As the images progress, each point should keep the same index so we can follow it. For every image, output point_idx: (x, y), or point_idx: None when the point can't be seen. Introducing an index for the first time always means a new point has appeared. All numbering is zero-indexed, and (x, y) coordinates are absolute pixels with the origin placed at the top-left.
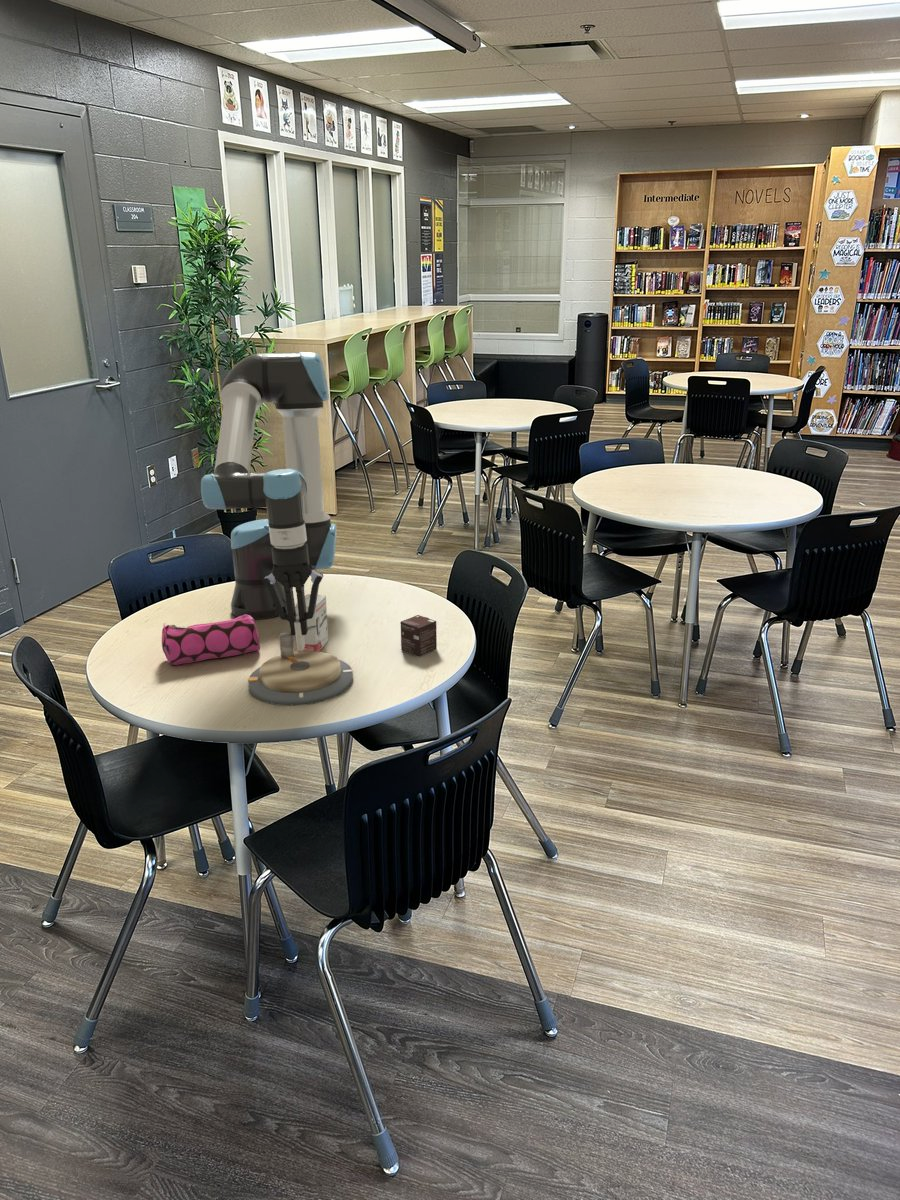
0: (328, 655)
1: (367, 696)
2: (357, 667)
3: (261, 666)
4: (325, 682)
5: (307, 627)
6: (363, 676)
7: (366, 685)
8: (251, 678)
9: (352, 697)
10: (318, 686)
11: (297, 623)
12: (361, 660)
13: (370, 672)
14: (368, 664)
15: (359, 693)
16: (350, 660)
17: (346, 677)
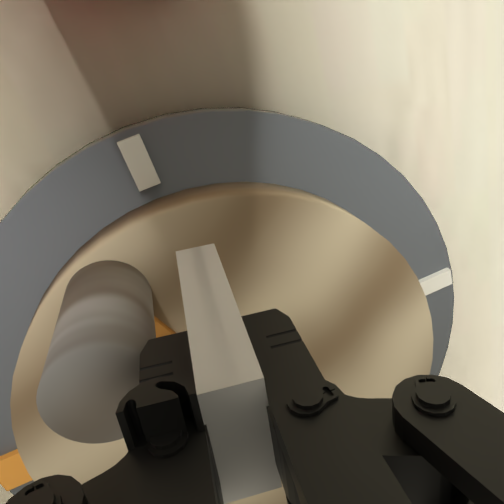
0: (355, 237)
1: (490, 382)
2: (441, 148)
3: (24, 456)
4: None
5: (300, 340)
6: (472, 237)
7: (485, 310)
8: (5, 471)
9: None
10: None
11: (256, 487)
12: (454, 53)
13: (498, 193)
14: (488, 103)
15: (464, 371)
16: (399, 61)
17: (433, 334)
